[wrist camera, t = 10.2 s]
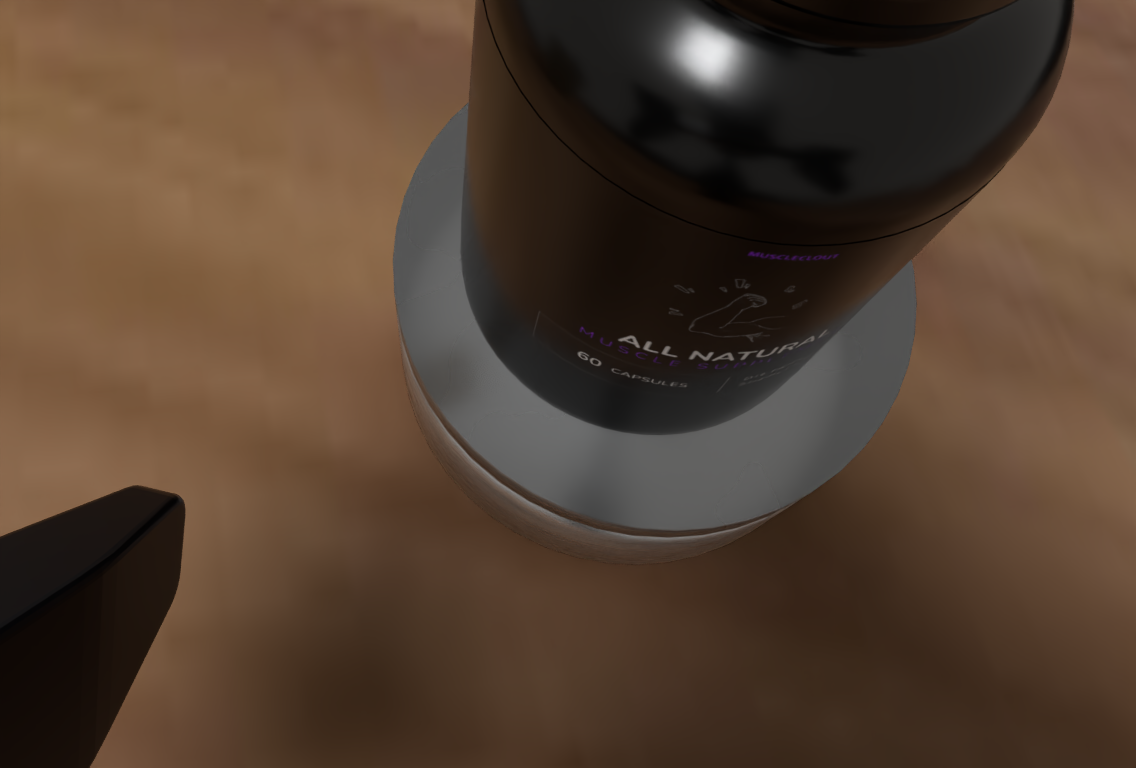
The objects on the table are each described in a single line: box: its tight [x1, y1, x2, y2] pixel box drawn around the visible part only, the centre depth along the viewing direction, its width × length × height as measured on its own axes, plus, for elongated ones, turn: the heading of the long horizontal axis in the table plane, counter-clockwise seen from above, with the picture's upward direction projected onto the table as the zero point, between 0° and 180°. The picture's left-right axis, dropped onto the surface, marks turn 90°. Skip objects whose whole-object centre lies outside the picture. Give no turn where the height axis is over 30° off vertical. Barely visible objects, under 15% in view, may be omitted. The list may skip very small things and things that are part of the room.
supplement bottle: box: [460, 0, 1074, 435], centre depth 14 cm, size 7×7×12 cm
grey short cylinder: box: [393, 102, 917, 565], centre depth 21 cm, size 10×10×4 cm
